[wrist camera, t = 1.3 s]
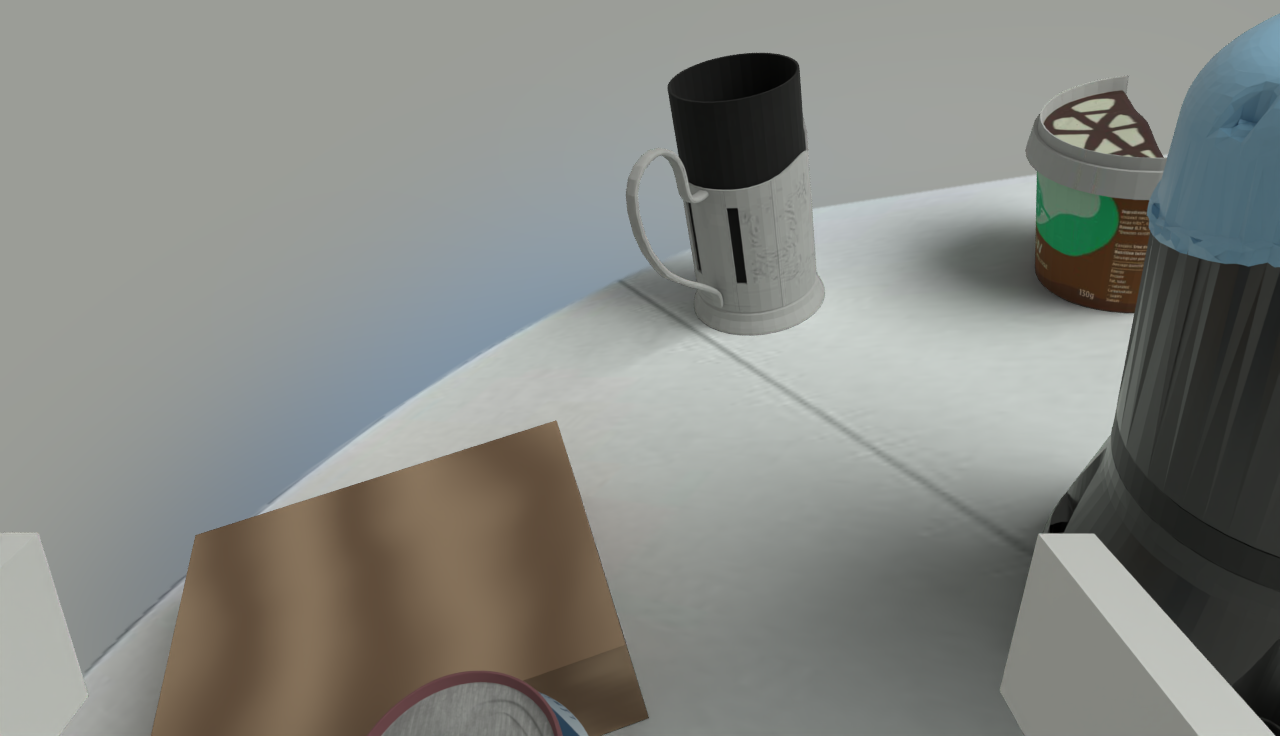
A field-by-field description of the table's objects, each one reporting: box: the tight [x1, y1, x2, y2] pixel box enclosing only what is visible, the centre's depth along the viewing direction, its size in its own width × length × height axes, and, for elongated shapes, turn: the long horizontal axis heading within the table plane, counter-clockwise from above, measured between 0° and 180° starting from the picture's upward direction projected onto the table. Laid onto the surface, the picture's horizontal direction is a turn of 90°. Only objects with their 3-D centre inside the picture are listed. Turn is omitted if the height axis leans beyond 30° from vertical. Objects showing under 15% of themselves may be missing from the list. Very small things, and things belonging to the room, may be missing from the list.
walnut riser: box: [151, 421, 649, 736], centre depth 38 cm, size 18×14×5 cm
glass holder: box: [626, 53, 825, 335], centre depth 51 cm, size 9×14×15 cm, turn 139°
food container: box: [1026, 76, 1167, 313], centre depth 50 cm, size 12×6×10 cm, turn 168°
